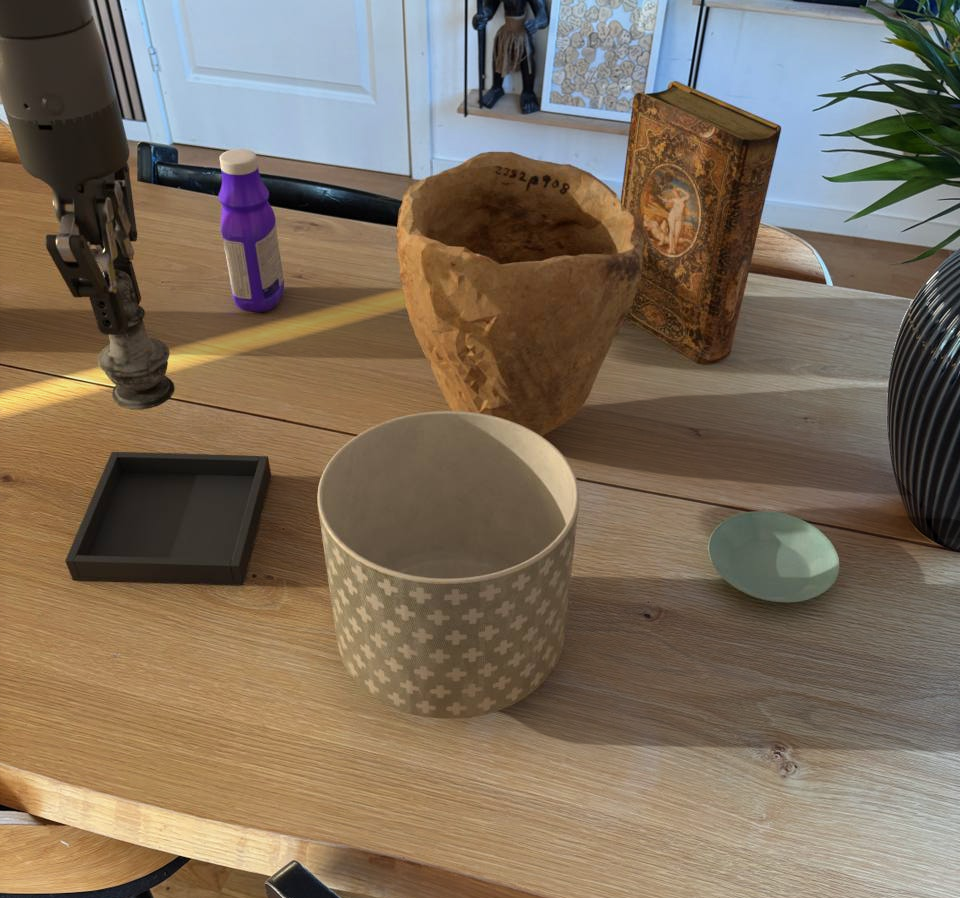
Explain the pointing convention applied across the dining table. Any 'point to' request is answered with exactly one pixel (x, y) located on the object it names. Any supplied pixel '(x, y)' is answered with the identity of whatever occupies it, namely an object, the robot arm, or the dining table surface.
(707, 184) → the book
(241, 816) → the dining table surface
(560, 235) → the tan textured vessel
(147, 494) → the tray
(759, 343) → the dining table surface
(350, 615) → the planter
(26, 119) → the robot arm
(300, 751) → the dining table surface
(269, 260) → the bottle
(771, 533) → the saucer
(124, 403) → the chess piece
